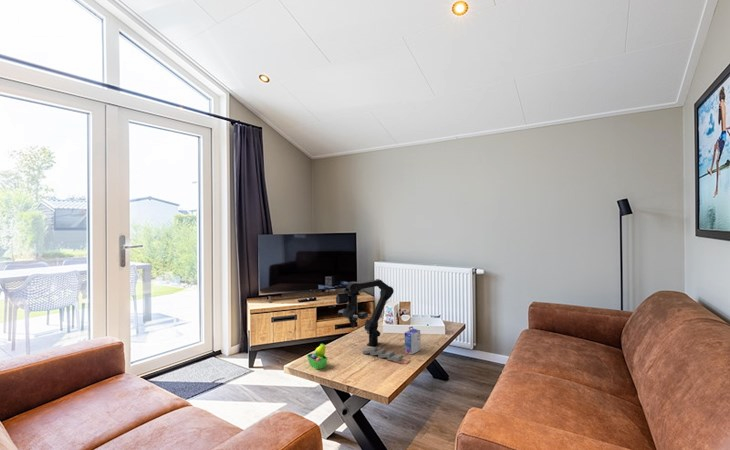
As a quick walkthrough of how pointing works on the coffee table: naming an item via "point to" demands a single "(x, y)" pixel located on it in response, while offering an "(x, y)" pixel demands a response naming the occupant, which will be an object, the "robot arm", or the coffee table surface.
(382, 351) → the domino
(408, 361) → the domino
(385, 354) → the domino
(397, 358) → the domino
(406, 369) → the coffee table surface
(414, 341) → the ink cartridge box
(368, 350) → the domino
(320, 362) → the fruit basket
